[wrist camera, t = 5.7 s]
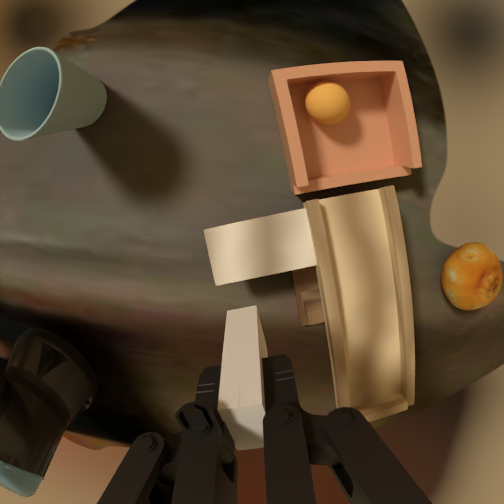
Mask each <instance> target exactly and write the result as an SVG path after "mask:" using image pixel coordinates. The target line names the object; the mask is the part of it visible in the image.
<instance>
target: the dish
mask: <svg viewBox="0 0 504 504" xmlns="http://www.w3.org/2000/svg"><path fill="white" fill-rule="evenodd" d="M322 81H331V82H334V83H337V84H339V85H340V86H342V87H343V88H344V89H345V91H346V92H347V94H348V96H349V98H350V109H349V112H348V114H347V116H346V117H345V118H344V119H343V120H341V121H340V122H338V123H335V124H323V123H320V122H318V121H316V120H315V119H314V118H312V117H311V115H310V114H309V113H308V111H307V109H306V105H305V98H306V94H307V92H308V90H309V89H310V88H311V87H312V86H313V85H314V84H316V83H318V82H322ZM268 83H269V87H270V92H271V96H272V100H273V104H274V109H275V113H276V117H277V122H278V126H279V131H280V136H281V140H282V145H283V150H284V154H285V159H286V164H287V169H288V174H289V179H290V184H291V189H292V192H293V193H294V194H295V195H297V194H302V193H307V192H312V191H318V190H323V189H328V188H334V187H339V186H345V185H351V184H357V183H362V182H368V181H375V180H381V179H387V178H393V177H400V176H407V175H411V168H419V167H422V162H421V153H420V146H419V139H418V132H417V126H416V121H415V115H414V110H413V105H412V100H411V95H410V90H409V86H408V82H407V77H406V73H405V69H404V66H403V62H402V61H357V62H339V63H327V64H316V65H307V66H298V67H291V68H284V69H277V70H271V74H270V77H269V80H268Z"/></svg>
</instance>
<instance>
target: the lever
mask: <svg viewBox="0 0 504 504" xmlns="http://www.w3.org/2000/svg"><path fill="white" fill-rule="evenodd" d="M303 207H304V209H299V210H294V211H289V212H284V213H279V214H274V215H270V216H265V217H260V218H255V219H251V220H246V221H241V222H237V223H232V224H228V225H223V226H218V227H214V228H210V229H205V230H204V234H205V239H206V244H207V248H208V253H209V257H210V262H211V267H212V271H213V275H214V280H215V284H216V286H217V285H222V284H227V283H232V282H237V281H242V280H247V279H252V278H257V277H262V276H267V275H272V274H277V273H282V272H287V271H291V270H296V269H301V268H305V267H310V266H315V267H316V273H317V278H318V284H319V289H320V295H321V301H322V307H323V313H324V319H325V326H326V332H327V339H328V345H329V352H330V359H331V367H332V374H333V382H334V390H335V398H336V407H337V408H341V407H352V408H355V409H357V410H358V411H360V412H361V413H362V414H363V416H364V417H365V418H366V419H367V421H368V422H371V421H374V420H377V419H381V418H384V417H387V416H390V415H393V414H396V413H399V412H402V411H405V410H407V409H408V406H410V405H413V404H414V396H415V343H414V322H413V307H412V295H411V285H410V276H409V268H408V260H407V253H406V246H405V240H404V234H403V228H402V222H401V217H400V211H399V206H398V201H397V197H396V192H395V187H394V185H392V186H386V187H382V188H379V189H375V190H369V191H363V192H358V193H352V194H347V195H341V196H336V197H330V198H325V199H320V200H319V199H314V200H309V201H306V202H304V203H303Z"/></svg>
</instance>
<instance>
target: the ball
mask: <svg viewBox="0 0 504 504" xmlns="http://www.w3.org/2000/svg"><path fill="white" fill-rule="evenodd" d="M305 105H306V109H307V111H308V113H309V114H310V115H311V117H312V118H314V119H315V120H316V121H318V122H320V123H323V124H335V123H338V122H340V121H341V120H343V119H344V118H345V117H346V116H347V114H348V112H349V109H350V98H349V96H348V94H347V92H346V91H345V89H344V88H343V87H342V86H340V85H339V84H337V83H334V82H331V81H322V82H318V83H316V84H314V85H313V86H312V87H311V88H310V89H309V90H308V92H307V94H306V98H305Z"/></svg>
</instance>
